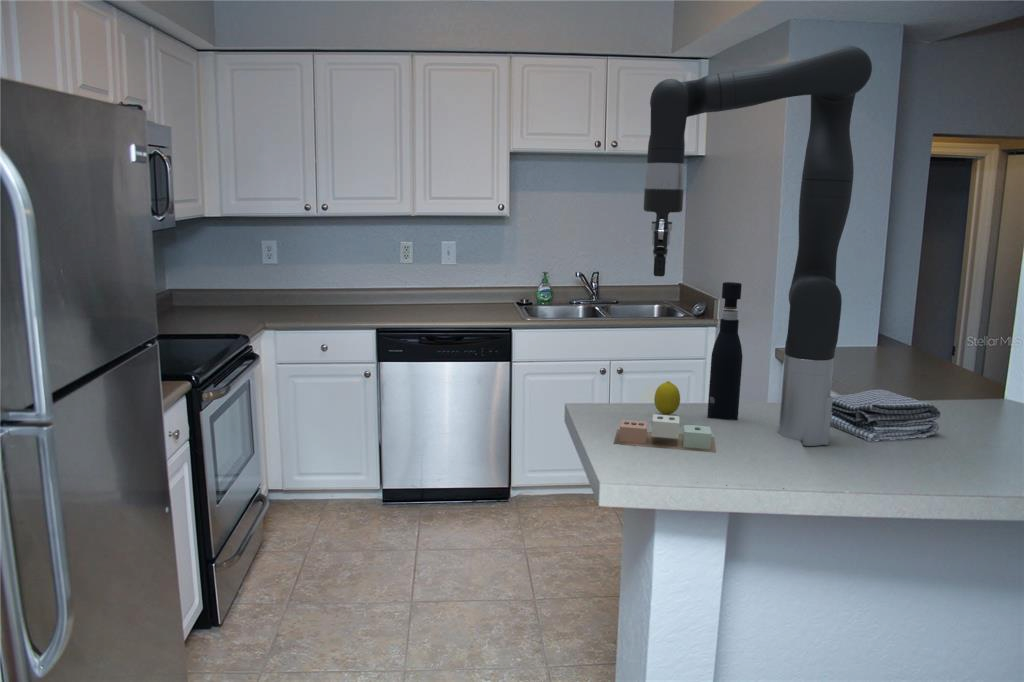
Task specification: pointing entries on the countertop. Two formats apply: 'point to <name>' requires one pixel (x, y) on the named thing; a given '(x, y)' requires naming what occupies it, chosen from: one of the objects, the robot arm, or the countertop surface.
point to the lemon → (667, 398)
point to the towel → (883, 415)
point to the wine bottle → (726, 360)
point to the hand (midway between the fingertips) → (659, 275)
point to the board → (664, 443)
